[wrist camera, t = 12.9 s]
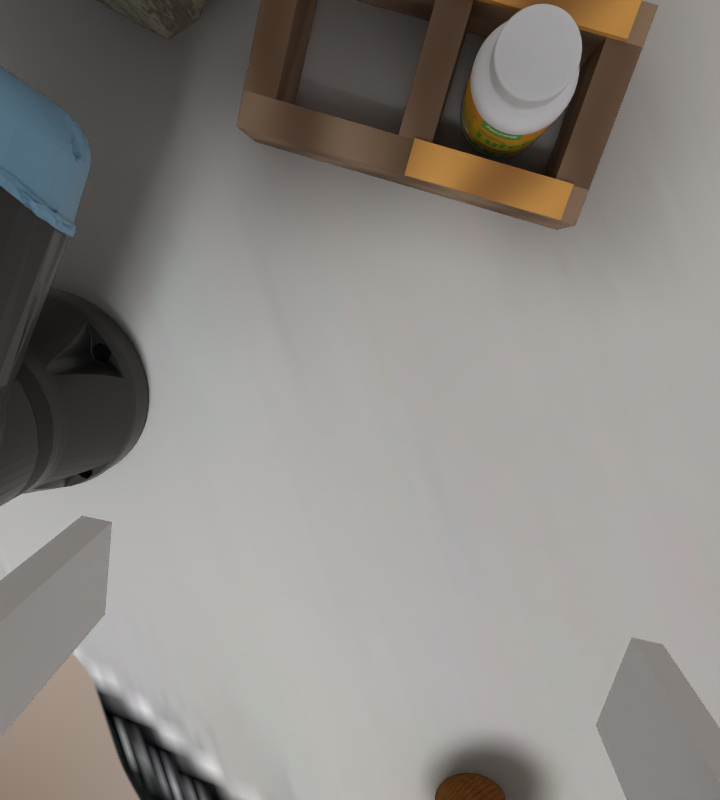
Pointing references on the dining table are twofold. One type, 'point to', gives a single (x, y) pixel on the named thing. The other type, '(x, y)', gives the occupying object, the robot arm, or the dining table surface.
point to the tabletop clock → (159, 13)
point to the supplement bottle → (521, 80)
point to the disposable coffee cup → (469, 788)
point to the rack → (414, 145)
